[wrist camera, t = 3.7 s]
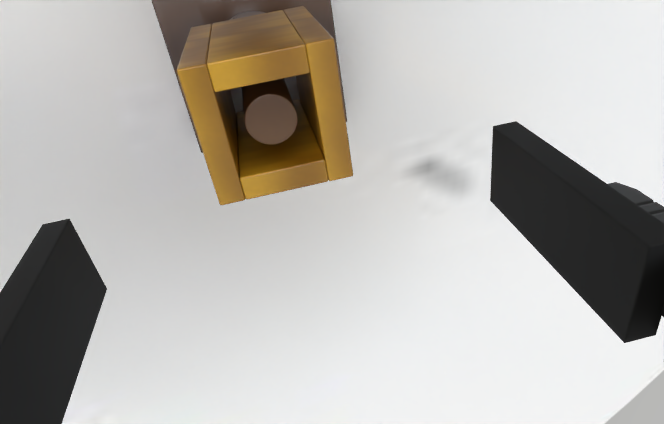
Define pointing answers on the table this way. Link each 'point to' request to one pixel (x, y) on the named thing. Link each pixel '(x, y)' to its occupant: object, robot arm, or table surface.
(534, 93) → the table surface
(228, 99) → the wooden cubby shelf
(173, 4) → the peg stand
